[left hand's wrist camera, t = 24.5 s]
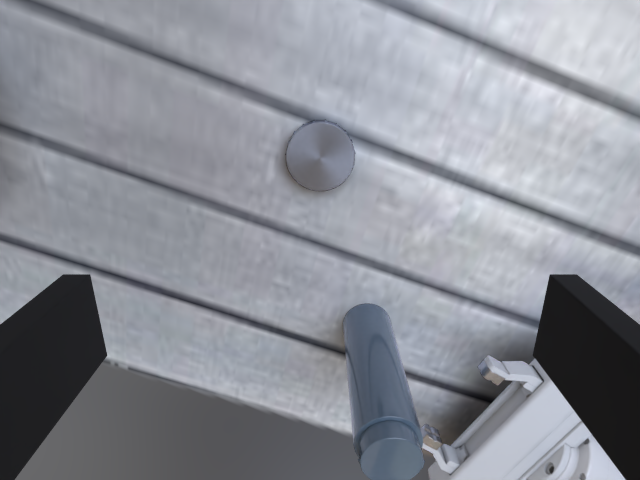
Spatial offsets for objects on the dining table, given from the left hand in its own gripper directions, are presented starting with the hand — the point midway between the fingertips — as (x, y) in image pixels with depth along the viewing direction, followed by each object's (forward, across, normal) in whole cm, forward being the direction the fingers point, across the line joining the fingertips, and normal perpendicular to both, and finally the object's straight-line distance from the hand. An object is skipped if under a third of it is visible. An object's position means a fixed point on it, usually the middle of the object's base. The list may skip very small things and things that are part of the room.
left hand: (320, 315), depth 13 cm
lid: (+26, 0, 0) cm, 26 cm away
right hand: (+21, +12, -22) cm, 33 cm away
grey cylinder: (+28, +5, -18) cm, 33 cm away
